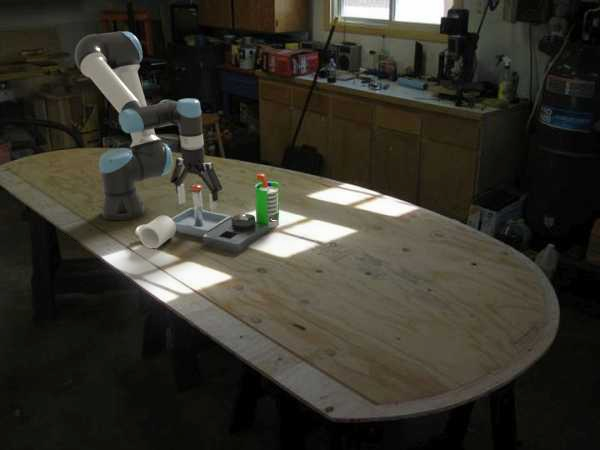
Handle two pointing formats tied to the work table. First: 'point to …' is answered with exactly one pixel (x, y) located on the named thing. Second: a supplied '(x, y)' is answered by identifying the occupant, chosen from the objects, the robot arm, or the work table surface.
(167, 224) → the mug
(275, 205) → the green-shelled ribbed roller
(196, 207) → the pin
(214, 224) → the tray
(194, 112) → the robot arm
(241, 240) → the grey block with dome
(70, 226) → the work table surface
